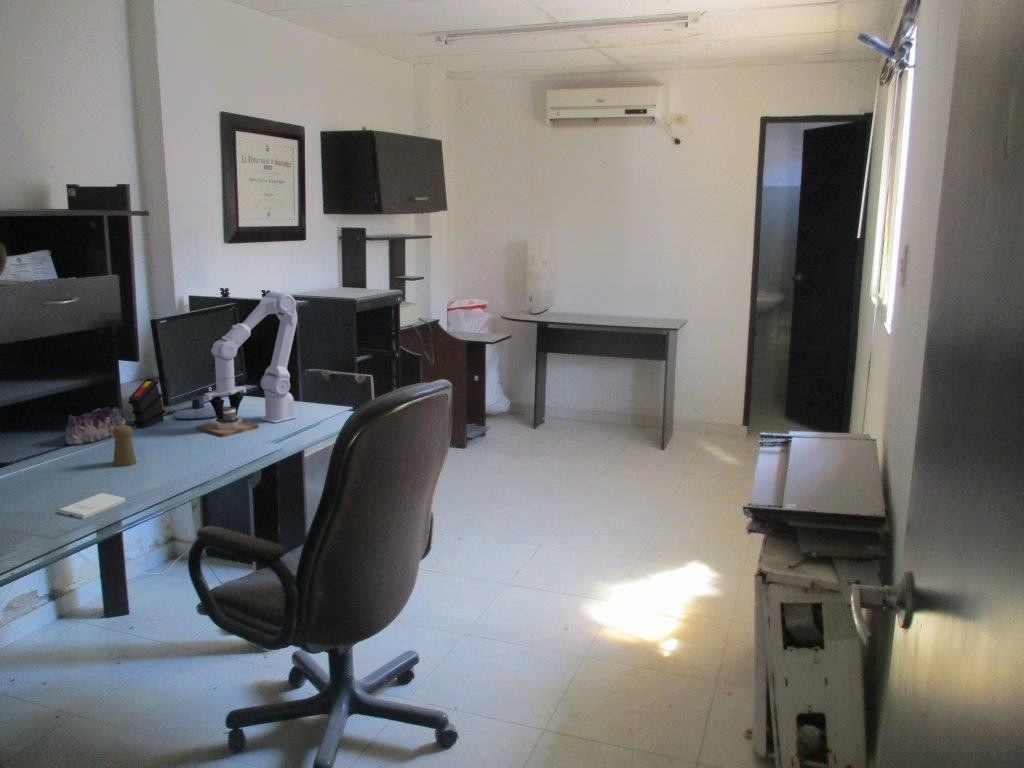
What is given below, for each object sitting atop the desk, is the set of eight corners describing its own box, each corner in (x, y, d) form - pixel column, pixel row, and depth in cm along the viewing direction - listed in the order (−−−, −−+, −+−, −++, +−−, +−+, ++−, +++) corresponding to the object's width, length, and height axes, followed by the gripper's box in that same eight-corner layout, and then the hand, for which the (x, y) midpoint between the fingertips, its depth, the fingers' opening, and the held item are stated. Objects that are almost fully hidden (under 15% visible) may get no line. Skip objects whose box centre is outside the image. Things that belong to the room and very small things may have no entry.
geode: (90, 448, 248) (83, 417, 246) (58, 450, 251) (50, 418, 248) (134, 428, 267) (128, 399, 265) (104, 430, 270) (97, 400, 268)
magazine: (170, 413, 283) (156, 378, 273) (149, 438, 272) (133, 403, 263) (160, 412, 283) (146, 377, 274) (139, 437, 273) (123, 402, 264)
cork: (114, 460, 237) (111, 424, 235) (137, 459, 239) (134, 422, 237) (112, 467, 232) (109, 429, 229) (135, 465, 234) (133, 428, 231)
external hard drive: (125, 503, 207) (83, 520, 196) (101, 498, 210) (58, 514, 199) (125, 497, 207) (83, 514, 195) (100, 492, 210) (58, 508, 198)
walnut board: (231, 420, 282) (231, 417, 282) (258, 427, 275) (258, 425, 275) (195, 429, 271) (195, 426, 271) (223, 436, 264) (222, 433, 263)
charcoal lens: (228, 420, 276) (227, 405, 275) (239, 422, 273) (239, 407, 272) (216, 423, 271) (215, 409, 270) (228, 425, 269) (227, 411, 268)
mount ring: (230, 420, 279) (229, 414, 279) (248, 425, 274) (247, 419, 274) (206, 425, 271) (205, 420, 271) (224, 431, 266) (224, 425, 266)
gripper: (214, 382, 261) (215, 423, 264) (251, 375, 273) (252, 414, 276) (200, 379, 265) (202, 419, 268) (237, 372, 277) (239, 411, 280)
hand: (226, 417), depth 272 cm, fingers closed on charcoal lens, 5 cm apart
